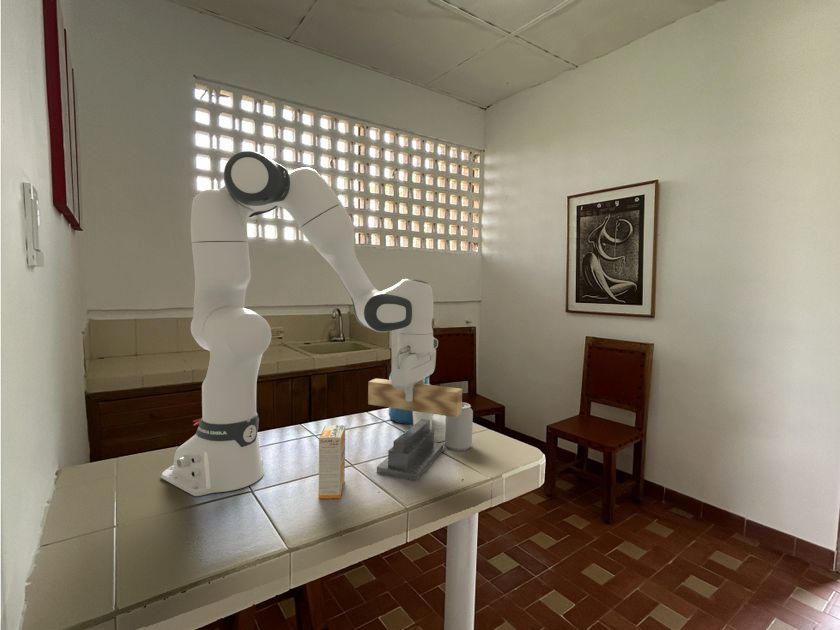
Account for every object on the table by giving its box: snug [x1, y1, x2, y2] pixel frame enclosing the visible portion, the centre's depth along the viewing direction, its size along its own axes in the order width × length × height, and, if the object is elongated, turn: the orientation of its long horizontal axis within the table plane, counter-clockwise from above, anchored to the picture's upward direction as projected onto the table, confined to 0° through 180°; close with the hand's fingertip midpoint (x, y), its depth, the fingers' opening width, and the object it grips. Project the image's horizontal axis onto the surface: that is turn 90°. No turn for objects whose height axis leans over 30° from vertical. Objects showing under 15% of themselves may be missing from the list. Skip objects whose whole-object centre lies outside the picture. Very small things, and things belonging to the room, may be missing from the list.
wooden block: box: [367, 378, 463, 417], centre depth 104 cm, size 24×4×6 cm, turn 68°
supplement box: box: [317, 424, 346, 500], centre depth 89 cm, size 8×5×13 cm, turn 4°
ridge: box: [376, 419, 445, 482], centre depth 105 cm, size 10×20×8 cm, turn 158°
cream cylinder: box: [412, 383, 434, 430], centre depth 122 cm, size 7×7×15 cm
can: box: [444, 401, 474, 452], centre depth 115 cm, size 8×8×12 cm
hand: (414, 398), depth 104 cm, fingers closed on wooden block, 4 cm apart
